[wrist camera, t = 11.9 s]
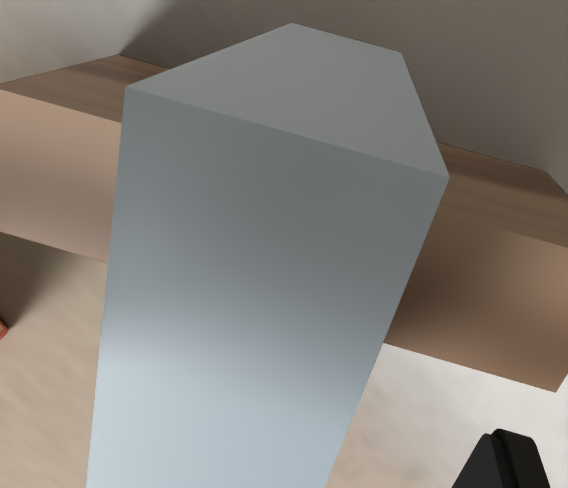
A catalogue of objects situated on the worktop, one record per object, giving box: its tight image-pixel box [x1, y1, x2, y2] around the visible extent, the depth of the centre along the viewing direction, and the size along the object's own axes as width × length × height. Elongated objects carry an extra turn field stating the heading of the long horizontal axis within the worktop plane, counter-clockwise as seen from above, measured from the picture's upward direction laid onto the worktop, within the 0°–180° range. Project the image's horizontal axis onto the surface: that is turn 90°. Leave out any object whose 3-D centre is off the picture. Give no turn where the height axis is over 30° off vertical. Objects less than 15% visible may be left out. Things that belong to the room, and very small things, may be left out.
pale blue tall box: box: [86, 23, 450, 488], centre depth 15 cm, size 12×4×14 cm, turn 166°
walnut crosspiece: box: [0, 55, 568, 393], centre depth 21 cm, size 5×20×9 cm, turn 77°
